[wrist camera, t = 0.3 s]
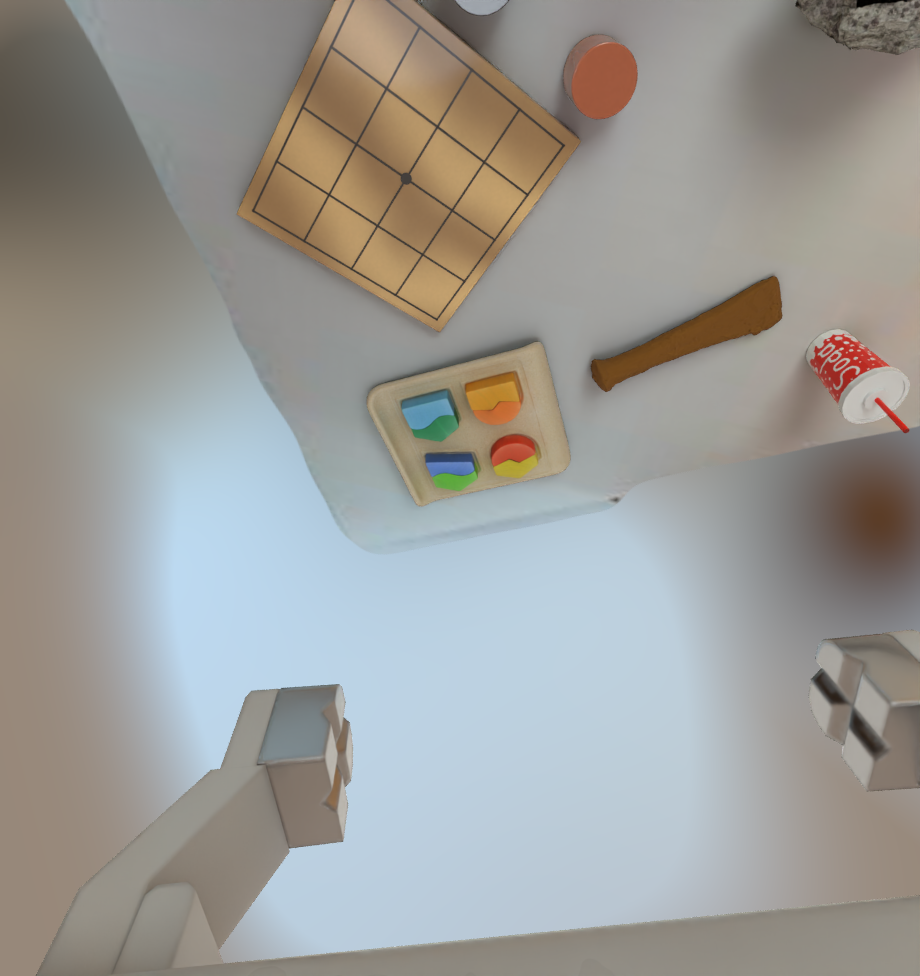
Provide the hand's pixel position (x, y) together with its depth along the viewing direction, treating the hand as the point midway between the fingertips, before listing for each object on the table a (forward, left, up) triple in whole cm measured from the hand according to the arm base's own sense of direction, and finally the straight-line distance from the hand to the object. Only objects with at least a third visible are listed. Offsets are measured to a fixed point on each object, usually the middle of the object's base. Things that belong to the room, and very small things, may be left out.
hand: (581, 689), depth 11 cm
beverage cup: (-3, +48, -51) cm, 70 cm away
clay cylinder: (-7, +10, -50) cm, 52 cm away
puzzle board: (+25, +22, -51) cm, 61 cm away
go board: (+7, +2, -50) cm, 51 cm away
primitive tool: (+4, +33, -51) cm, 61 cm away
